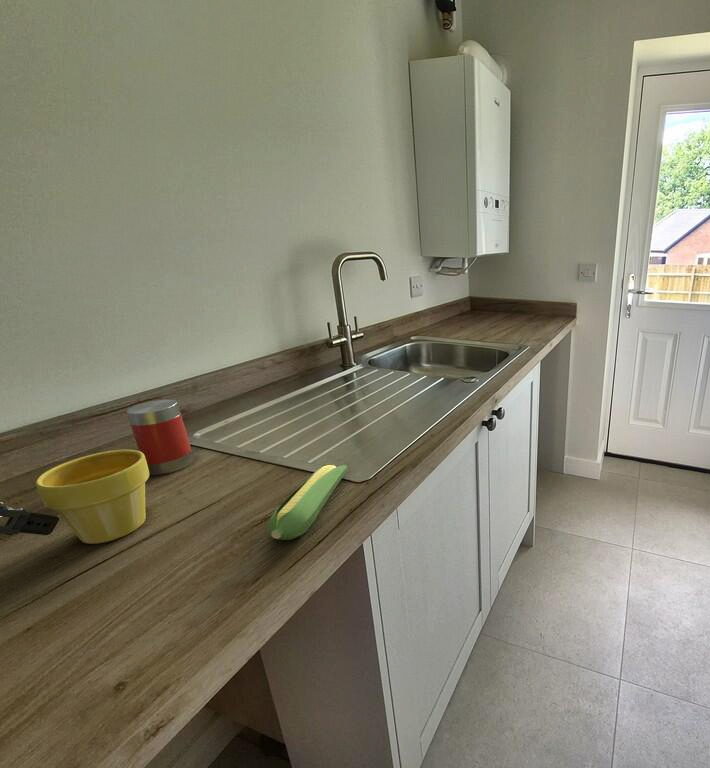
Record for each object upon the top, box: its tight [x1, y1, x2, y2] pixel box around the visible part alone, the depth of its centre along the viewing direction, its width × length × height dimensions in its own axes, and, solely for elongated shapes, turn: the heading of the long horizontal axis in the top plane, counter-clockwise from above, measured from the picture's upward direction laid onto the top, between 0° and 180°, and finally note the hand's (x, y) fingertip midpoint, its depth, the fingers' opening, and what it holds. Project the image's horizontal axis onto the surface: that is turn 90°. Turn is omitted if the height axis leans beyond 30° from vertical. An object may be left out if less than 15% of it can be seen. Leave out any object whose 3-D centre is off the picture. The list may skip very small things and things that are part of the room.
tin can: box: [126, 399, 194, 476], centre depth 72 cm, size 7×7×12 cm
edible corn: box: [268, 460, 350, 541], centre depth 61 cm, size 5×20×5 cm, turn 179°
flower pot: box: [35, 449, 150, 545], centre depth 56 cm, size 10×10×10 cm
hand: (50, 525), depth 50 cm, fingers closed
